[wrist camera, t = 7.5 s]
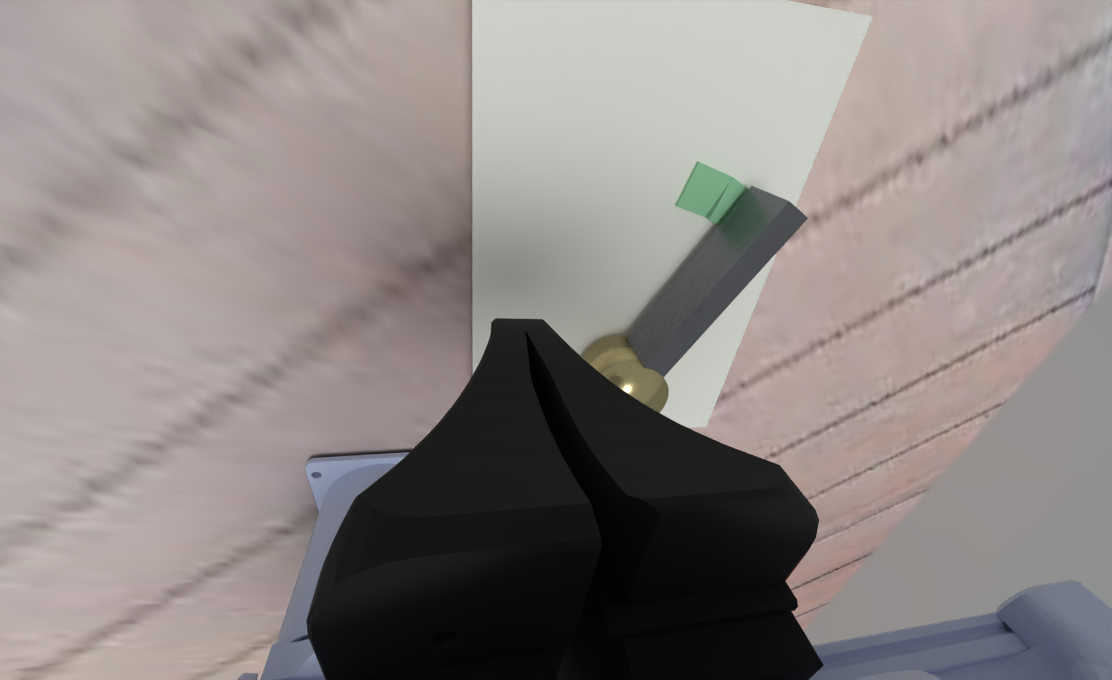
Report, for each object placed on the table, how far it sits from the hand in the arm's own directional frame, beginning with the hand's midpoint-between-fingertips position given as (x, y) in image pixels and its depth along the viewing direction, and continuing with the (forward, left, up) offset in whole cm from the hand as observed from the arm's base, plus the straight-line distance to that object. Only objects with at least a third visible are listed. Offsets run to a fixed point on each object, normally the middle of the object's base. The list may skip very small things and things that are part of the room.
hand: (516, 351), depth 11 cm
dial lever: (-2, -8, -7) cm, 11 cm away
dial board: (-1, -6, -9) cm, 11 cm away
